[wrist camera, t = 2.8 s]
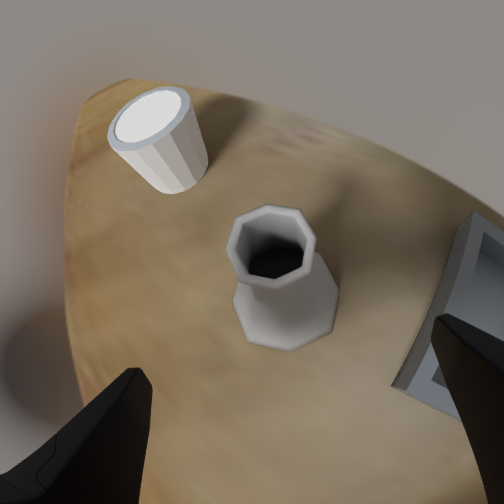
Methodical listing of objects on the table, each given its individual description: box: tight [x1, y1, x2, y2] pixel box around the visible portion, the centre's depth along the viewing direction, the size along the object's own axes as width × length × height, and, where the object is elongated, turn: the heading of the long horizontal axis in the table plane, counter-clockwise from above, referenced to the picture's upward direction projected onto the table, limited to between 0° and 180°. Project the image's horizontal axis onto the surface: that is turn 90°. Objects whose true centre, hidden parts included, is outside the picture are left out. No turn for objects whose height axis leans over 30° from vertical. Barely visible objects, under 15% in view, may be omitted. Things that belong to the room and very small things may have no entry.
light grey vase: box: [226, 204, 339, 352], centre depth 15 cm, size 7×7×10 cm
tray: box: [391, 210, 504, 422], centre depth 14 cm, size 13×13×3 cm
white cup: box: [107, 86, 208, 194], centre depth 21 cm, size 7×7×7 cm
